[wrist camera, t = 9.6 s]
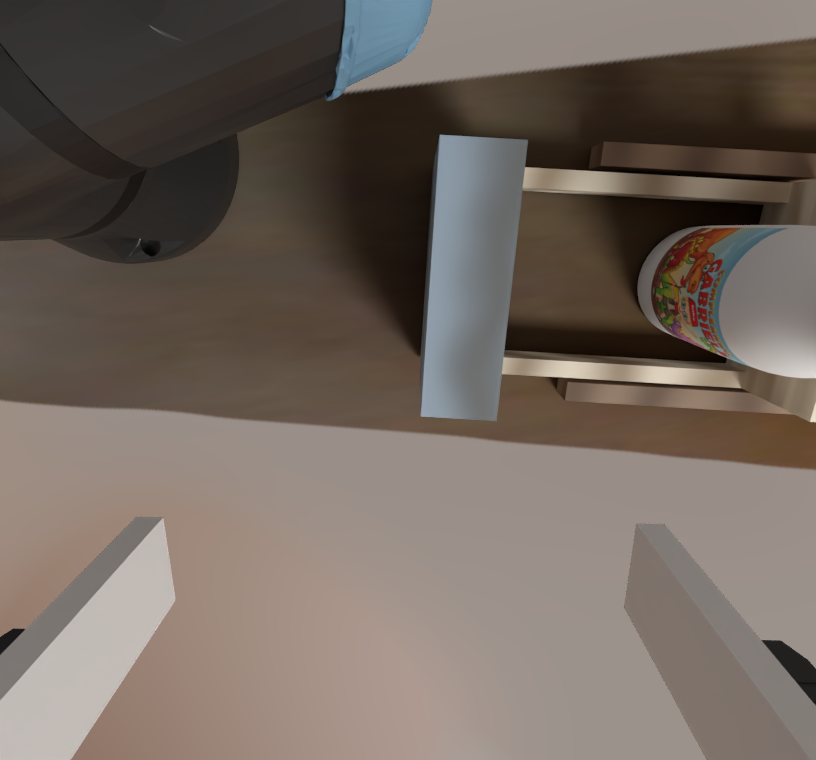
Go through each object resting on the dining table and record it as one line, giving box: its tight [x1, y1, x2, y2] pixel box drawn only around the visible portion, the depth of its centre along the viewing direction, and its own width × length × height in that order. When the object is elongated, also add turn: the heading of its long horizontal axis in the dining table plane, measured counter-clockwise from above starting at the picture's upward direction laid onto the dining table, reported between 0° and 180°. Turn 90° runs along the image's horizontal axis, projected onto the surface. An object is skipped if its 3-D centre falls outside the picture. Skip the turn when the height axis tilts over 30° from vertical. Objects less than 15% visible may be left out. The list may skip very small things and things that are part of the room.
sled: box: [420, 135, 816, 422], centre depth 31 cm, size 24×14×12 cm, turn 87°
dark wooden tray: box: [556, 141, 816, 414], centre depth 36 cm, size 27×17×2 cm, turn 87°
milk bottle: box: [637, 225, 816, 378], centre depth 27 cm, size 8×8×20 cm
